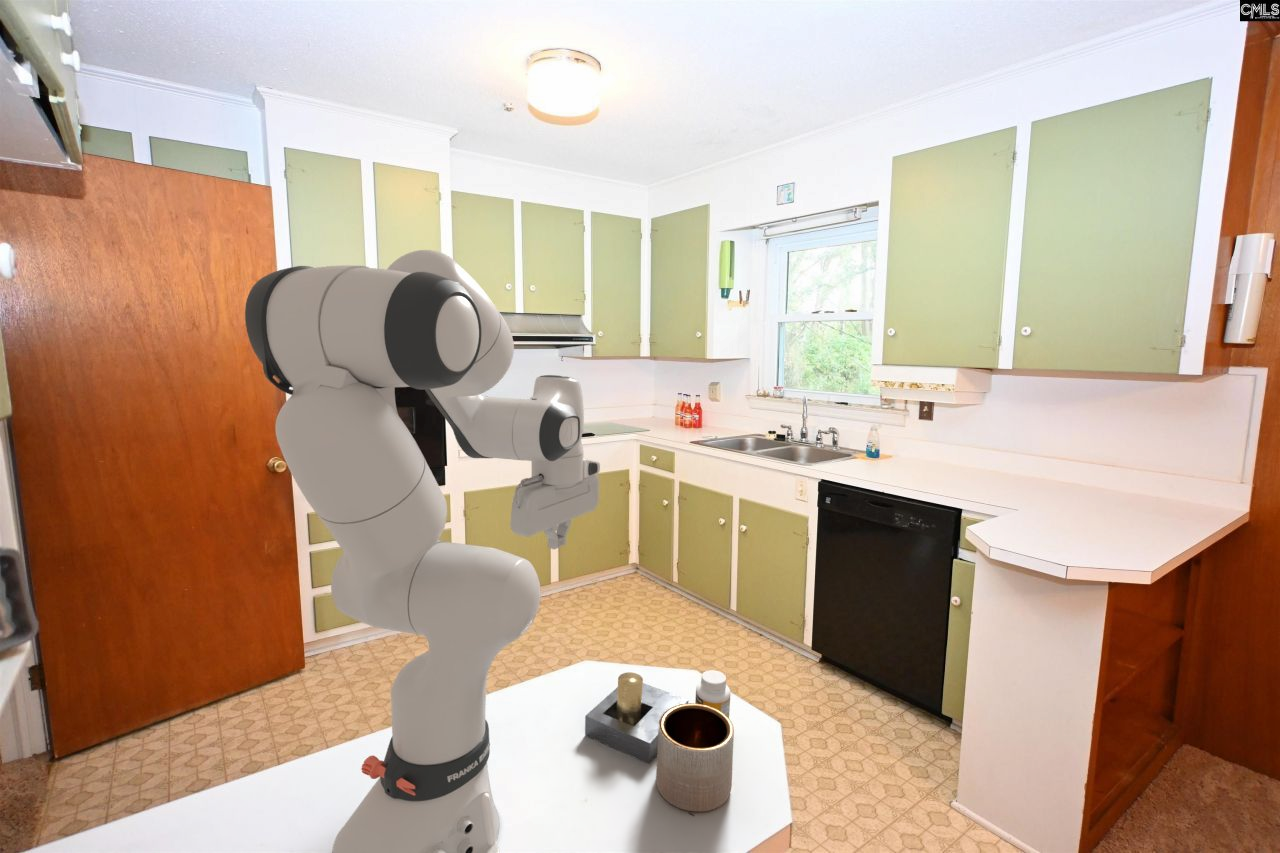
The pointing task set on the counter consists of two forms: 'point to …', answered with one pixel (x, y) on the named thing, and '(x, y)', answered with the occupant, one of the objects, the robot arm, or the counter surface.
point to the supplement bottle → (714, 691)
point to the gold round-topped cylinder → (629, 698)
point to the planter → (695, 757)
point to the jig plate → (624, 736)
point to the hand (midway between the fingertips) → (557, 546)
